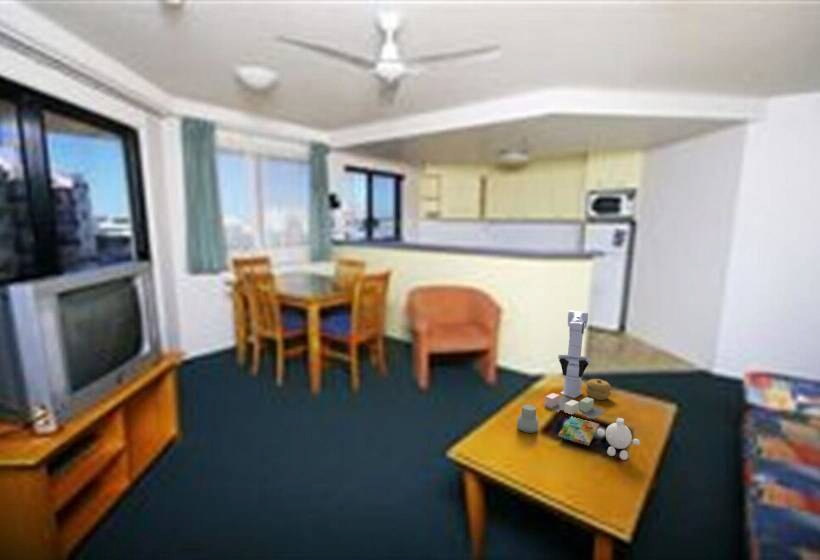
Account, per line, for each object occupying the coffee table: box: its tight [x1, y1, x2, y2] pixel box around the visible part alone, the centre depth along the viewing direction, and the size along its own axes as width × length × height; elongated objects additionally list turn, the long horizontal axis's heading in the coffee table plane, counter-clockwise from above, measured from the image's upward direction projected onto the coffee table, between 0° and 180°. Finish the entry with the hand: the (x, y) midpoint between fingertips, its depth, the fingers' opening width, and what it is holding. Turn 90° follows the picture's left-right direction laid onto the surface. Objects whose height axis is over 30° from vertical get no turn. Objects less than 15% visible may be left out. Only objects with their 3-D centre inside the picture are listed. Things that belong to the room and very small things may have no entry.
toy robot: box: [596, 417, 641, 461], centre depth 165 cm, size 15×10×15 cm, turn 57°
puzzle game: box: [557, 416, 600, 447], centre depth 179 cm, size 12×5×20 cm
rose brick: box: [544, 392, 560, 408], centre depth 208 cm, size 7×4×5 cm, turn 133°
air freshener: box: [516, 404, 539, 434], centre depth 183 cm, size 11×8×10 cm
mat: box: [542, 395, 606, 420], centre depth 205 cm, size 20×22×1 cm
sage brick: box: [579, 396, 595, 412], centre depth 205 cm, size 7×4×5 cm, turn 133°
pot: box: [585, 378, 612, 401], centre depth 219 cm, size 12×12×10 cm
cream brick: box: [564, 399, 579, 415], centre depth 201 cm, size 7×4×5 cm, turn 133°
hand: (572, 376), depth 198 cm, fingers open, 7 cm apart
